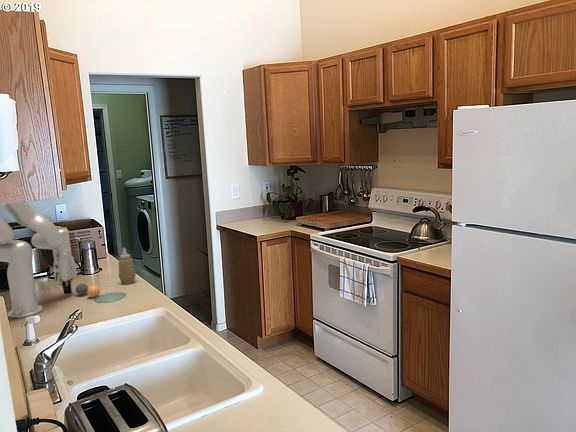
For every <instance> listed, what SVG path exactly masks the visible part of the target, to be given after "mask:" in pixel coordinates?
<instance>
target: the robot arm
mask: <svg viewBox="0 0 576 432" xmlns="http://www.w3.org/2000/svg"><path fill="white" fill-rule="evenodd" d="M2 206H3V207H4V208H5V209H6V211H7V212H8V213H9V214H10V215H11V217H12V218H13V219H14V220H15V222H16V223H17V224H19V225H21V226H22V227H25V228H27V229H30V230H33V231H35V233H34V235H33V236H32V237H31V244H32V245H31V244H30V243H28V242H27V241H24V240H19V239H14V237H15V235H14V234H15V233H14V230H13V227H11V226H10V225H9V223H8V222H7V221H6V220H5V219H4V218H3V217H2V216H1V215H0V262H3V263H8V267H7V271H6V274H7V275H6V276H7V282H8V287H9V293H10V295H9V296H10V301H11V310H9V311H8V312H7V313H6V315H7V314H8V316H7V317H10V318H12V319H13V318H14V319H15V318H18V319H19V318H26V317H30V316H34V315H36V314H38V313H41V312H42V311H43V305H40V304H39V302H38V296H37V289H36V282H35V276H34V270H33V269H34V268H33V253H34V252H33V247H34V248H37V249H40V250H52V254H53V275H54V280H55V282H56V284H57V285H60V286H61V287H62V290H63V294H64V295H70V294H72V293H73V291H72V283H73V280H74V279H75V278H76V277H77V276H78V271H77V266H76V261H75V259H74V256H73V255H72V248H71V241H70V240H71V239H70V232H69V229H67V228H58V227H56V225H55V223H53V222H52V221H51V220H50V219H48V218H46V217H45V216H44V215H43V214H41V213H39V212H38V211H36V209H35V208H34V207H33V206H32V204H31V203H30V202H29V201H28V202H22V203H13V204H6V205H2ZM32 246H33V247H32Z"/></svg>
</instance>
